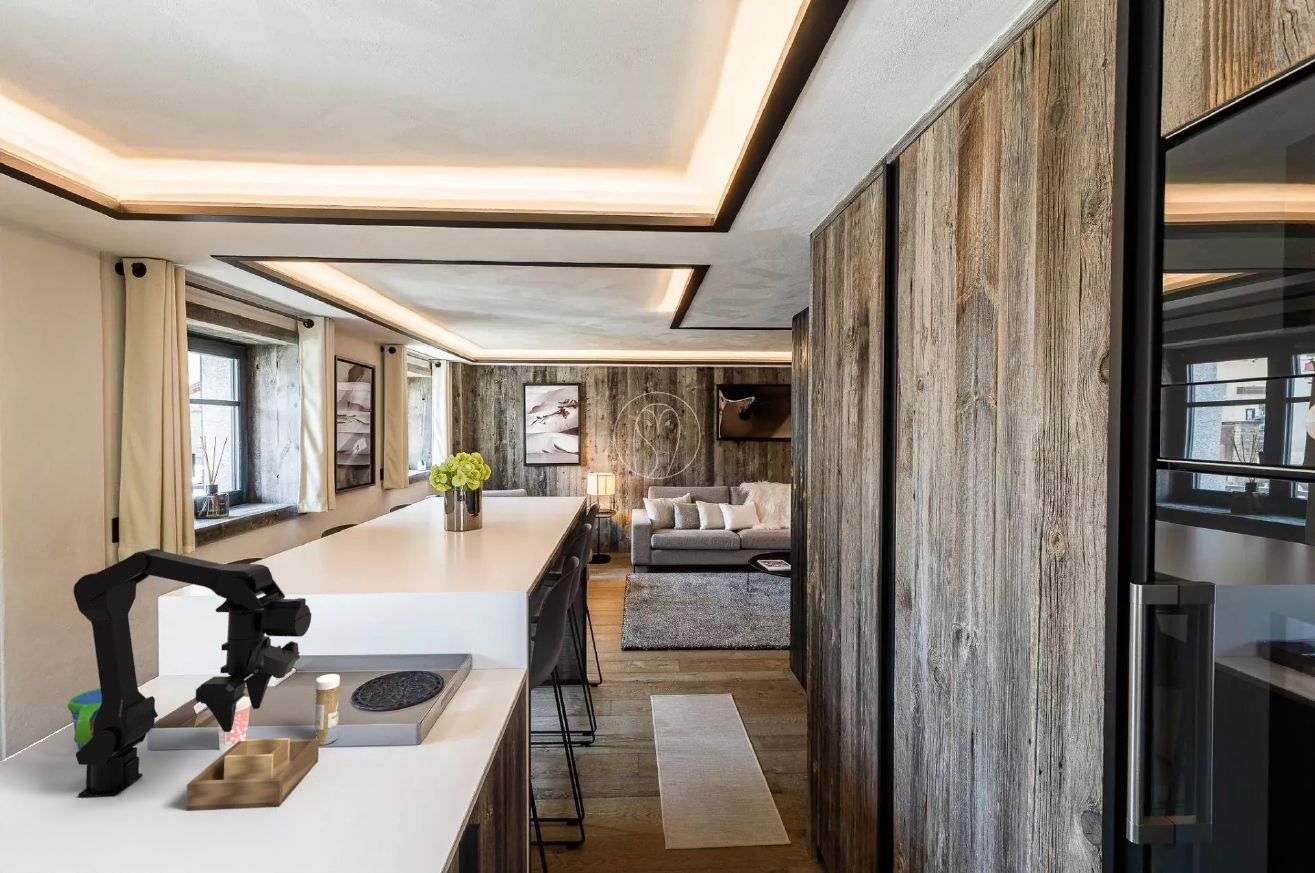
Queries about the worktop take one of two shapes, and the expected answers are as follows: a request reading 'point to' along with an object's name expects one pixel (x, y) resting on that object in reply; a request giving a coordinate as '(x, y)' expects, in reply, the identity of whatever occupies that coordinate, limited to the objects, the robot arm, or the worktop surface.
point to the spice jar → (326, 705)
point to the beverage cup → (236, 725)
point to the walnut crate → (251, 782)
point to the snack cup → (84, 714)
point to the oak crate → (257, 759)
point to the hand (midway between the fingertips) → (242, 719)
